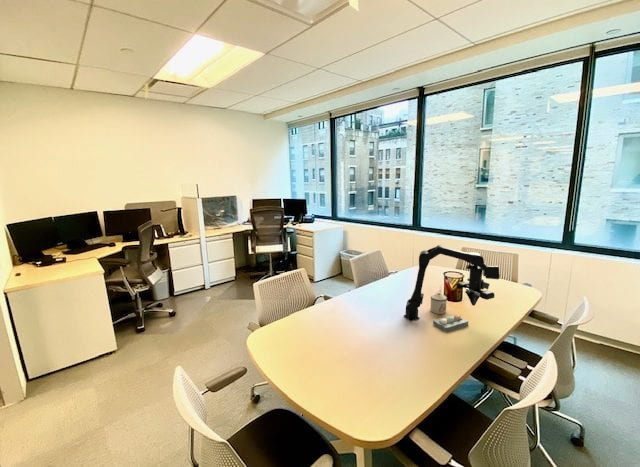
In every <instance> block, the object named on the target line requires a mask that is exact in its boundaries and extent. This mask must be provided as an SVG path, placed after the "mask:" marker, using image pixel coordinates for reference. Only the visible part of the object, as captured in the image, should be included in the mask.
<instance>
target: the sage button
mask: <svg viewBox="0 0 640 467" xmlns="http://www.w3.org/2000/svg"><path fill="white" fill-rule="evenodd" d="M447 321H448V322H450V323H453V322H454V318H453V317H448V320H447Z"/></svg>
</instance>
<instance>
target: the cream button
mask: <svg viewBox="0 0 640 467" xmlns="http://www.w3.org/2000/svg"><path fill="white" fill-rule="evenodd" d="M440 323H441V324H443V325H446V324H447V320H446V319H441V322H440Z"/></svg>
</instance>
